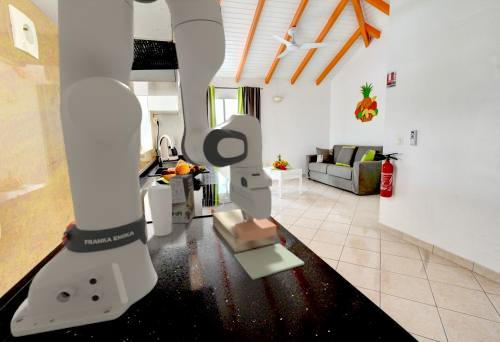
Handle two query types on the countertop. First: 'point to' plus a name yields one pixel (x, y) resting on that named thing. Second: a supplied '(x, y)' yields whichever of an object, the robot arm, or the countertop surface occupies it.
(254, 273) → the mat
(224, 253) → the countertop surface
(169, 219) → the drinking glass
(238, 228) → the peach brick
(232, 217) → the beige block
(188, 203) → the coffee box
